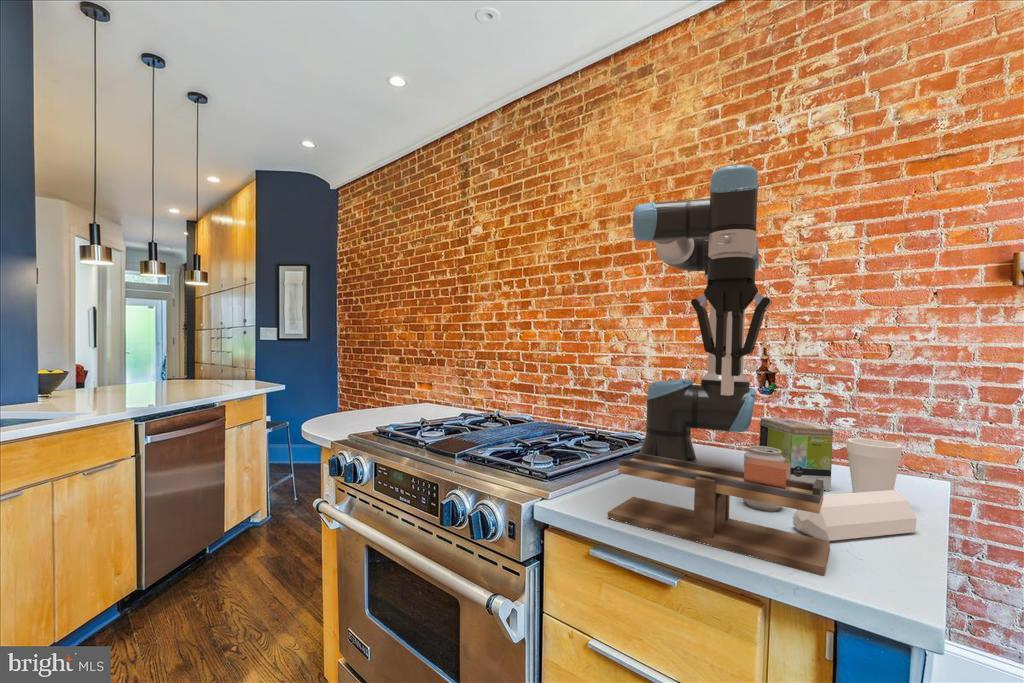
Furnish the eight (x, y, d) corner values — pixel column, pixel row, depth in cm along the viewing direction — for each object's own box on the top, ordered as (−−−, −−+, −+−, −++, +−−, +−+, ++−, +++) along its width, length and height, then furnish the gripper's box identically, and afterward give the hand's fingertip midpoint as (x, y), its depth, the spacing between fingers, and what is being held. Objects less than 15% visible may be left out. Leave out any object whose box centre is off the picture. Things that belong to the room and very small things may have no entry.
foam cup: (850, 493, 111) (852, 436, 111) (902, 503, 104) (904, 443, 104) (841, 502, 104) (842, 441, 104) (895, 514, 98) (897, 449, 97)
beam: (618, 472, 91) (619, 454, 91) (634, 464, 98) (635, 447, 98) (819, 513, 72) (819, 490, 72) (823, 500, 78) (823, 479, 78)
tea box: (832, 492, 112) (834, 428, 112) (788, 490, 112) (791, 426, 112) (795, 474, 127) (797, 417, 127) (756, 472, 127) (758, 416, 127)
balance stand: (607, 518, 90) (609, 462, 90) (632, 502, 100) (634, 451, 100) (824, 575, 70) (826, 503, 70) (829, 548, 80) (831, 484, 79)
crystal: (829, 526, 79) (936, 516, 86) (798, 493, 85) (900, 486, 92) (809, 556, 83) (912, 544, 89) (780, 521, 89) (879, 513, 95)
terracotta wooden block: (743, 486, 79) (744, 462, 79) (749, 480, 83) (750, 457, 83) (785, 494, 76) (786, 469, 76) (789, 487, 80) (790, 463, 80)
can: (789, 514, 96) (791, 453, 96) (748, 510, 97) (750, 450, 97) (776, 502, 103) (778, 445, 103) (738, 498, 104) (740, 443, 104)
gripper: (686, 258, 85) (682, 392, 85) (770, 252, 77) (765, 400, 77) (698, 264, 91) (694, 390, 91) (777, 259, 83) (772, 396, 83)
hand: (727, 394), depth 84 cm, fingers closed
